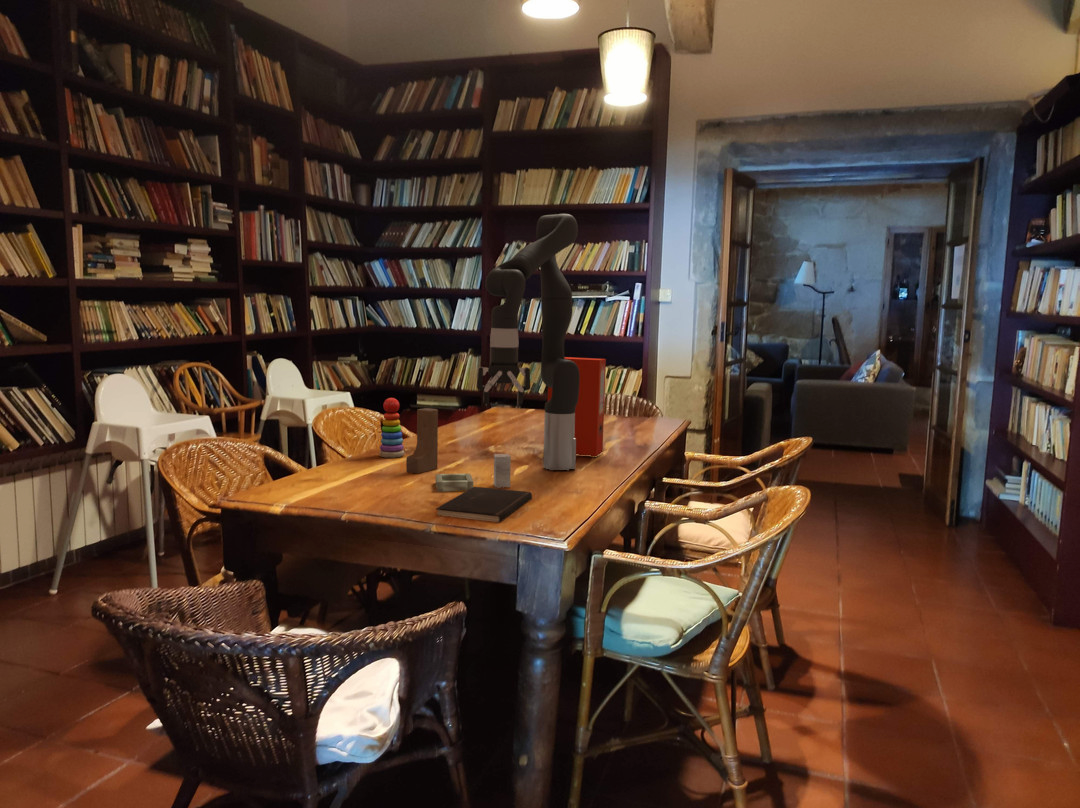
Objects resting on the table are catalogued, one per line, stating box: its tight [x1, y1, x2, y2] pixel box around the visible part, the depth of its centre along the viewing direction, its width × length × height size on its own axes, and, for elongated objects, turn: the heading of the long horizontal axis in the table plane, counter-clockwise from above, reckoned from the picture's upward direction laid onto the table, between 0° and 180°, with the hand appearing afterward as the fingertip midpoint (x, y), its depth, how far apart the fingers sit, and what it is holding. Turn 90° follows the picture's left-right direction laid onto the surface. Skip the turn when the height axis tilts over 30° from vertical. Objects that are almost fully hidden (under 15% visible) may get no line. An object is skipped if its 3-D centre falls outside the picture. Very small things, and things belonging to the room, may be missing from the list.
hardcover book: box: [435, 486, 533, 523], centre depth 186 cm, size 16×23×2 cm
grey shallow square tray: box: [435, 473, 474, 492], centre depth 205 cm, size 10×10×2 cm
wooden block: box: [405, 407, 439, 474], centre depth 223 cm, size 9×4×18 cm, turn 146°
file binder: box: [547, 356, 607, 456], centre depth 253 cm, size 8×17×32 cm, turn 70°
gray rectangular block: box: [493, 453, 512, 489], centre depth 207 cm, size 4×4×8 cm
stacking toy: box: [378, 397, 405, 459], centre depth 243 cm, size 8×8×19 cm
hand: (503, 405), depth 205 cm, fingers open, 8 cm apart
